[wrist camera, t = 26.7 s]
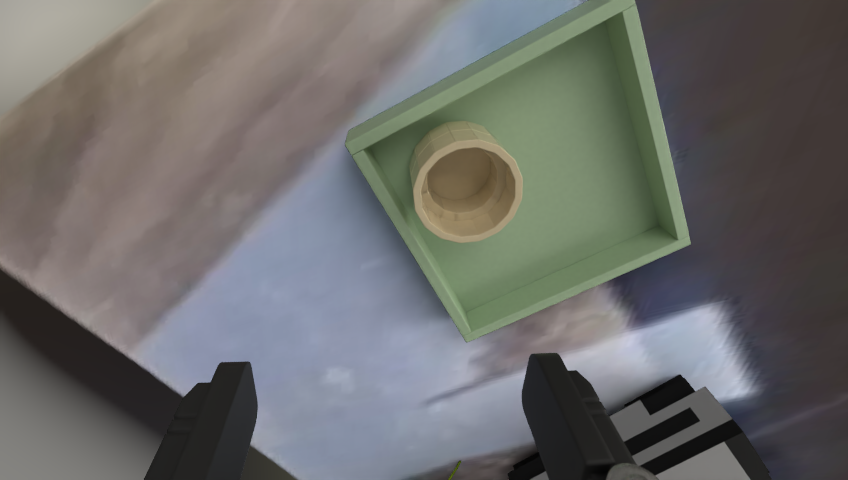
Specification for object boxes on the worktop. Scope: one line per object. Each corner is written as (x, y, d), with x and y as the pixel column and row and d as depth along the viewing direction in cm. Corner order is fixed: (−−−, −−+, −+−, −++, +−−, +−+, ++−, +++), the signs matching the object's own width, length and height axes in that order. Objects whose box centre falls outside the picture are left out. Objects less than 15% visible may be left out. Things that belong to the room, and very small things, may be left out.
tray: (347, 130, 29) (344, 144, 26) (606, -10, 26) (632, -12, 23) (460, 318, 37) (466, 343, 34) (666, 225, 34) (691, 244, 31)
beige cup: (392, 147, 29) (393, 173, 24) (480, 100, 28) (498, 119, 23) (434, 223, 32) (442, 259, 27) (515, 183, 31) (537, 213, 26)
